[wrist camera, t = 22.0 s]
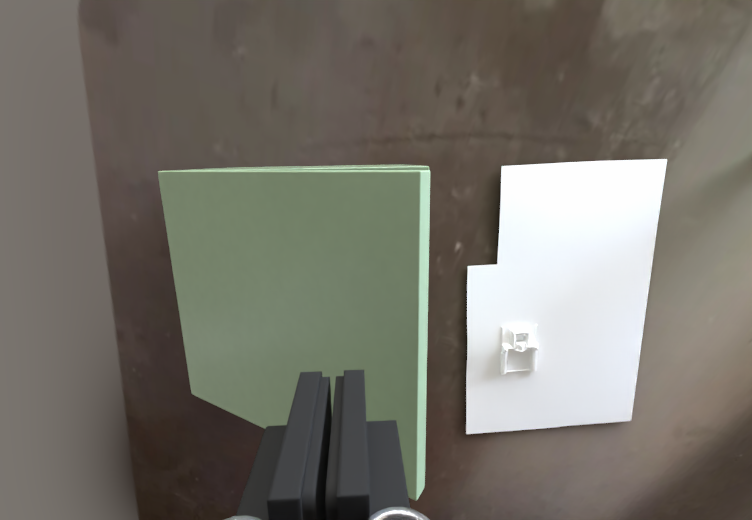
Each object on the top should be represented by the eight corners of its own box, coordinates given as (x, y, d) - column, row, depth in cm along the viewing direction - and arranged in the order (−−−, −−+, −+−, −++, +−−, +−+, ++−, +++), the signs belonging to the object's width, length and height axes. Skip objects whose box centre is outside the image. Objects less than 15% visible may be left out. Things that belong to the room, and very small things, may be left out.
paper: (642, 418, 37) (650, 425, 36) (465, 440, 37) (469, 448, 36) (663, 148, 31) (674, 147, 30) (451, 171, 30) (455, 171, 29)
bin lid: (431, 170, 13) (420, 170, 12) (425, 487, 16) (416, 501, 15) (172, 170, 20) (157, 171, 19) (203, 387, 23) (191, 394, 22)
